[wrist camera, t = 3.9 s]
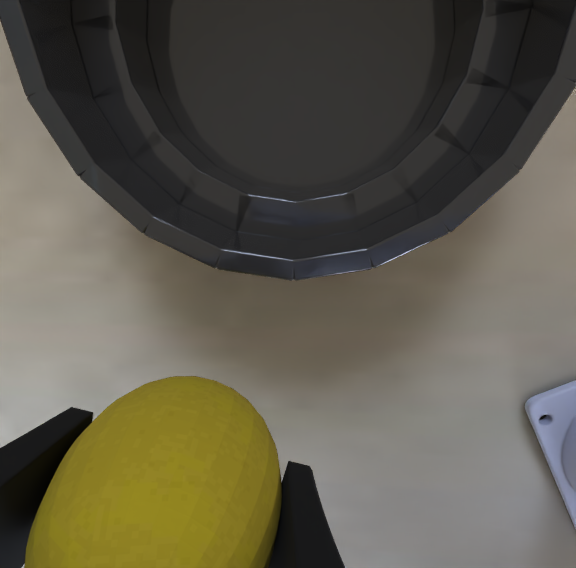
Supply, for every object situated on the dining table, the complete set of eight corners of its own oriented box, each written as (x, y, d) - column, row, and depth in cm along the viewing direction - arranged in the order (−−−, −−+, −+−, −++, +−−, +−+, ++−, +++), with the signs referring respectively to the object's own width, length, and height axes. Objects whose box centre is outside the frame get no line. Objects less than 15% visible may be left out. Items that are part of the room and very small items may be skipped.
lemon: (279, 325, 13) (232, 570, 6) (297, 467, 15) (279, 801, 7) (112, 337, 14) (-137, 577, 6) (148, 473, 15) (-13, 791, 8)
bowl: (562, 128, 14) (689, 120, 9) (227, 294, 17) (193, 354, 12) (407, -358, 11) (482, -759, 6) (18, -54, 13) (-147, -164, 9)
